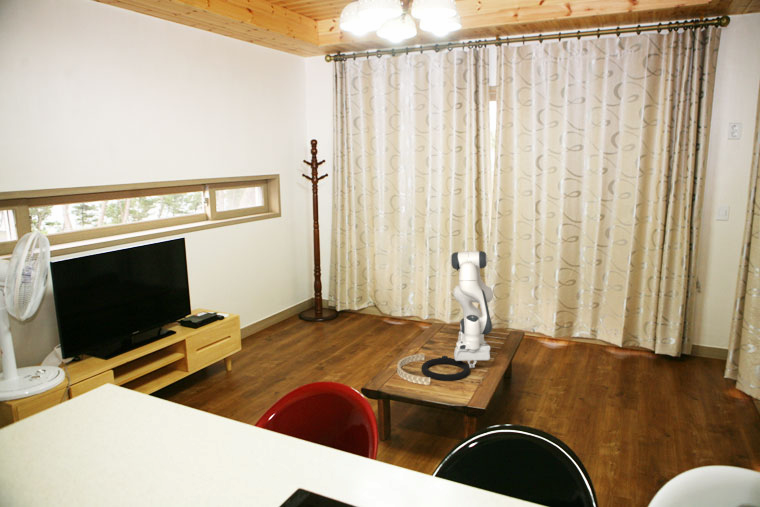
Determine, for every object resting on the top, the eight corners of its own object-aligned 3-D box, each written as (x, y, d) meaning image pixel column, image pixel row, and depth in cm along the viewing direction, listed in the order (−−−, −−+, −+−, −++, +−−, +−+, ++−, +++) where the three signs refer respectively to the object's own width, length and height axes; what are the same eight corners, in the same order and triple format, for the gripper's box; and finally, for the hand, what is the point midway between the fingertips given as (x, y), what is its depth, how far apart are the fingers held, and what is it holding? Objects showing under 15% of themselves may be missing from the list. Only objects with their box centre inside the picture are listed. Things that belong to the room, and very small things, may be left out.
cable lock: (420, 374, 282) (421, 354, 312) (420, 381, 283) (421, 360, 312) (471, 376, 280) (468, 355, 309) (471, 382, 280) (468, 361, 310)
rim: (395, 359, 314) (395, 354, 314) (424, 359, 315) (424, 353, 314) (398, 385, 278) (398, 379, 277) (430, 384, 278) (430, 378, 277)
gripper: (489, 341, 297) (488, 364, 299) (453, 342, 297) (453, 365, 299) (491, 345, 291) (491, 369, 293) (455, 346, 290) (455, 369, 293)
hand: (471, 367), depth 296 cm, fingers closed
